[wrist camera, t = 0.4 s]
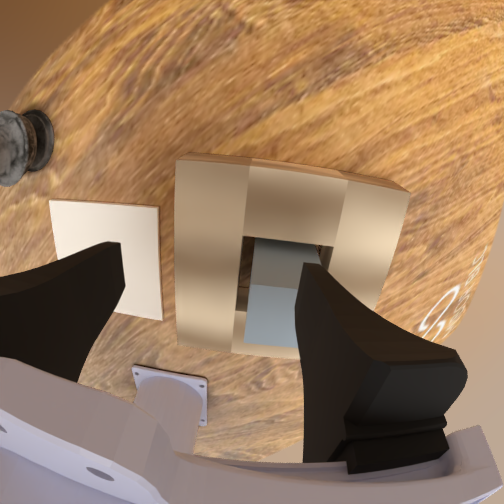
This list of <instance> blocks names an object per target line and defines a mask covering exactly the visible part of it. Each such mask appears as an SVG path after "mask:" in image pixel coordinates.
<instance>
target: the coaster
mask: <svg viewBox="0 0 504 504" xmlns="http://www.w3.org/2000/svg"><path fill="white" fill-rule="evenodd" d="M49 204H50V213H51V220H52V227H53V234H54V240H55V246H56V252H57V257H58V260H59V259H62V258H64V257H67V256H69V255H72V254H74V253H76V252H79V251H81V250H84V249H86V248H88V247H91V246H94V245H96V244H99V243H102V242H107V241H111V242H120V243H121V251H122V260H123V269H124V277H125V284H126V287H125V289H124V291H123V294H122V296H121V298H120V300H119V303H118V305H117V306H116V308H115V310H114V311H113V312H118V313H123V314H128V315H133V316H139V317H144V318H149V319H155V320H161V321H163V318H164V315H163V302H162V286H161V266H160V233H159V207H157V206H146V205H134V204H121V203H108V202H94V201H79V200H63V199H51V200H49Z"/></svg>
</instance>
